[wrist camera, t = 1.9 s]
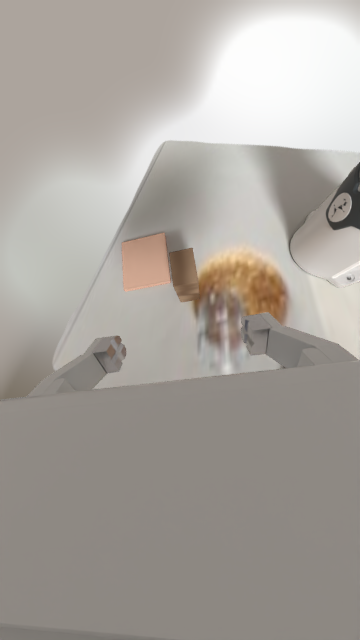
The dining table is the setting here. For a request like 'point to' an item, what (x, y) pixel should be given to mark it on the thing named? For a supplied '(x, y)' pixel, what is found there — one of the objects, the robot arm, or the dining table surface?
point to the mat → (145, 262)
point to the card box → (184, 275)
